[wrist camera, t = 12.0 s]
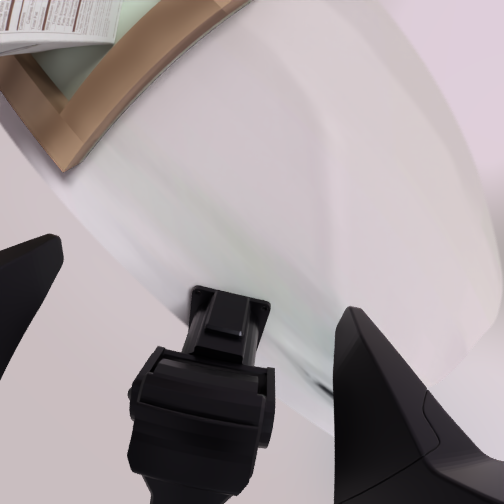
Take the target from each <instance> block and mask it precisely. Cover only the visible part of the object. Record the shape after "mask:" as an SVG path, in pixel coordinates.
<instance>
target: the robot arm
mask: <svg viewBox="0 0 504 504" xmlns="http://www.w3.org/2000/svg"><path fill="white" fill-rule="evenodd" d="M63 260H64V256H63V250H62V244H61V239H60V237H59V236H57V235H53V234H46V235H43V236H40V237H37V238H34V239H32V240H29V241H26V242H23V243H20V244H18V245H15V246H12V247H9V248H7V249H4V250H1V251H0V380H1V378H2V375H3V373H4V371H5V369H6V367H7V365H8V363H9V361H10V359H11V357H12V356H13V354H14V352H15V350H16V348H17V346H18V344H19V342H20V341H21V339H22V337H23V335H24V333H25V332H26V330H27V328H28V326H29V325H30V323H31V321H32V319H33V318H34V316H35V314H36V312H37V311H38V309H39V308H40V306H41V304H42V303H43V301H44V299H45V297H46V295H47V293H48V291H49V289H50V287H51V285H52V283H53V282H54V280H55V278H56V276H57V274H58V272H59V270H60V268H61V266H62V264H63ZM197 291H200V292H201V293H199V292H197ZM263 306H266V308H264V307H263ZM270 309H271V304H270V303H269V302H267V301H264V300H259V299H255V298H250V297H246V296H242V295H237V294H233V293H229V292H224V291H220V290H216V289H212V288H208V287H203V286H195V287H194V289H193V292H192V300H191V310H190V320H189V330H188V335H187V338H186V341H185V343H184V346H183V349H182V352H176V351H172V350H167V349H165V348H164V347H160V346H158V347H157V348H156V350H155V351H154V353H152V354H151V356H150V357H149V359H148V360H147V362H146V363H145V365H144V367H143V368H142V369H141V371H140V372H139V374H138V375H137V377H136V378H135V380H134V381H133V383H132V387H131V388H130V389H129V391H128V398H129V400H130V409H129V410H130V417H131V419H132V420H133V421H134V425H133V431H132V436H131V440H130V444H129V449H128V453H127V457H128V461H129V464H130V468H131V470H132V472H134V473H137V474H141V475H142V477H143V479H144V481H145V482H146V485H147V487H148V489H149V491H150V493H151V500H150V504H224V503H225V502H226V501H227V500H228V499H229V498H231V497H232V496H233V495H234V496H237V495H239V494H240V493H241V492H242V490H243V489H244V488H245V487H246V485H248V483H249V479H250V478H251V477H252V474H253V469H254V465H255V460H256V455H257V450H258V448H267V447H268V444H269V441H270V437H271V433H272V428H273V422H274V414H275V368H270V367H267V368H262V367H255V366H254V364H255V356H256V351H257V348H258V345H259V342H260V339H261V336H262V333H263V330H264V327H265V325H266V322H267V319H268V316H269V313H270ZM333 396H334V433H335V484H334V504H504V461H499V460H496V459H493V458H490V457H489V456H487V455H486V454H484V453H483V452H482V451H481V450H480V449H479V448H478V447H477V446H476V445H475V444H474V443H473V442H472V441H471V439H470V438H469V437H468V436H467V435H466V434H465V433H464V432H463V430H462V429H461V428H460V427H459V426H458V425H457V424H456V423H455V422H454V420H453V419H452V418H451V417H450V416H449V415H448V414H447V412H446V411H445V410H444V409H443V408H442V406H441V405H440V404H439V403H438V402H437V400H436V399H435V398H434V396H433V395H432V394H431V393H430V391H429V390H427V388H426V386H425V385H424V384H423V383H422V381H421V380H420V379H419V378H418V376H417V375H416V374H415V373H414V371H413V370H412V369H411V368H410V366H409V365H408V364H407V363H406V361H405V360H404V359H403V358H402V356H401V355H400V354H399V353H398V352H397V350H396V349H395V348H394V347H393V346H392V344H391V343H390V342H389V341H388V339H387V338H386V337H385V336H384V335H383V333H382V332H381V331H380V330H379V329H378V328H377V326H376V325H375V324H374V323H373V322H372V320H371V319H370V318H369V317H368V316H367V315H366V313H365V312H364V311H363V310H362V309H361V308H357V307H352V306H349V307H347V308H346V310H345V311H344V313H343V315H342V317H341V319H340V321H339V323H338V325H337V327H336V331H335V348H334V365H333Z"/></svg>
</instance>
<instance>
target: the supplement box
mask: <svg viewBox="0 0 504 504" xmlns="http://www.w3.org/2000/svg"><path fill="white" fill-rule="evenodd" d="M122 4H123V0H0V56H6V55H15V54H25V53H36V52H43V51H48V50H52V49H60V48H69V47H78V46H89V45H113V44H114V42H115V38H116V33H117V28H118V22H119V18H120V13H121V8H122Z"/></svg>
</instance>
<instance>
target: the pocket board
mask: <svg viewBox="0 0 504 504" xmlns="http://www.w3.org/2000/svg"><path fill="white" fill-rule="evenodd" d="M251 1H253V0H123V4H122V8H121V13H120V18H119V22H118V28H117V33H116V38H115V42H114V44H113V45H89V46H78V47H69V48H60V49H52V50H48V51H43V52H36V53H25V54H15V55H6V56H0V91H1V92H2V93H3V95H4V96H5V98H6V99H7V101H8V102H9V103H10V105H11V106H12V108H13V109H14V110H15V112H16V113H17V115H18V116H19V117H20V119H21V120H22V121H23V123H24V124H25V125H26V127H27V128H28V129H29V131H30V132H31V133H32V134H33V136H34V137H35V138H36V140H37V141H38V142H39V144H40V145H41V146H42V147H43V149H44V150H45V151H46V152H47V154H48V155H49V156H50V157H51V159H52V160H53V161H54V162H55V163H56V165H57V166H58V167H59V168H60V170H61V171H62V172H63V173H64V172H65V171H67V170H69V169H71V168H72V167H74V166H76V165H78V164H80V163H81V162H82V161H83V160H84V159H85V157H86V156H87V155H88V154H89V152H90V151H91V150H92V149H93V147H94V146H95V145H96V144H97V142H98V141H99V140H100V139H101V138H102V136H103V135H104V134H105V133H106V132H107V130H108V129H109V128H110V127H111V126H112V125H113V124H114V122H115V121H116V120H117V119H118V118H119V117H120V116H121V115H122V113H123V112H124V111H125V110H126V109H127V108H128V107H129V106H130V105H131V104H132V103H133V102H134V101H135V99H136V98H137V97H138V96H139V95H140V94H141V93H142V92H143V91H144V90H145V89H146V88H147V87H148V86H149V85H150V84H151V83H152V82H153V81H154V80H155V79H156V78H157V77H158V76H160V75H161V74H162V73H163V72H164V71H165V70H166V69H167V68H168V67H169V66H170V65H171V64H172V63H174V62H175V61H176V60H177V59H178V58H179V57H180V56H181V55H182V54H184V53H185V52H186V51H187V50H188V49H189V48H191V47H192V46H193V45H194V44H195V43H197V42H198V41H199V40H200V39H201V38H203V37H204V36H205V35H206V34H208V33H209V32H210V31H211V30H213V29H214V28H215V27H217V26H218V25H219V24H221V23H222V22H223V21H225V20H226V19H227V18H229V17H230V16H231V15H233V14H234V13H235V12H237V11H238V10H240V9H241V8H243V7H244V6H245V5H247V4H248V3H250V2H251Z"/></svg>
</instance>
